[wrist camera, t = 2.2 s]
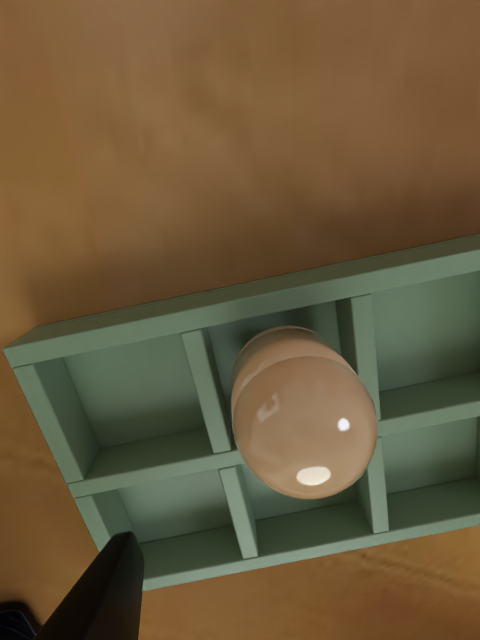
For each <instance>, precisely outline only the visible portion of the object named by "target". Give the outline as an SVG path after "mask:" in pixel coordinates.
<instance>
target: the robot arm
mask: <svg viewBox="0 0 480 640" xmlns="http://www.w3.org/2000/svg"><path fill="white" fill-rule="evenodd" d="M144 567H145V562H144V556H143V553H142V550H141V548H140V546H139V543H138V541H137V538H136V536H135V534H134V533H133V532H132V531H126V532H121V533H117V534H115V535H113V536H112V537H111V538H110V540H109V541H108V542H107V544H106V545H105V546H104V547H103V549H102V550H101V551H100V553H99V554H98V555H97V557H96V558H95V559H94V560H93V562H92V563H91V564H90V566H89V567H88V568H87V570H86V571H85V572H84V573H83V575H82V576H81V577H80V579H79V580H78V581H77V583H76V584H75V585H74V586H73V588H72V589H71V590H70V592H69V593H68V594H67V595H66V597H65V598H64V599H63V601H62V602H61V603H60V605H59V606H58V607H57V608H56V610H55V611H54V612H53V614H52V615H51V616H50V618H49V619H48V620H47V621H46V623H45V624H44V625H43V627H42V628H41V629H40V627H39V625H38V624H37V622H36V620H35V619H34V617H33V616H32V614H31V612H30V611H29V609H28V607H27V606H26V605H24V604H22V603H12V604H7V605H2V606H0V640H138V634H139V623H140V612H141V601H142V590H143V579H144Z"/></svg>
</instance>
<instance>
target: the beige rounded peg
mask: <svg viewBox="0 0 480 640" xmlns="http://www.w3.org/2000/svg"><path fill="white" fill-rule="evenodd" d="M230 390H231V411H232V428H233V434H234V439H235V443H236V446H237V449H238V451H239V454H240V456H241V457H242V459H243V461H244V463H245V464H246V466H247V467H248V469H249V470H250V472H251V473H252V474H254V475H255V476H256V477H257V478H258V479H259V480H260V481H261V482H262V483H263V484H264V485H265V486H267V487H269V488H270V489H272V490H273V491H275V492H278V493H280V494H283V495H286V496H288V497H291V498H296V499H301V500H315V499H323V498H327V497H330V496H333V495H336V494H338V493H340V492H342V491H344V490H345V489H347V488H349V487H350V486H352V485H353V484H354V483H355V482H356V481H357V480H358V479H359V478H360V477H361V476H362V474H363V473H364V472H365V470H366V469H367V467H368V465H369V463H370V461H371V459H372V457H373V455H374V452H375V449H376V445H377V438H378V420H377V415H376V410H375V406H374V402H373V400H372V398H371V396H370V393H369V391H368V390H367V388H366V386H365V384H364V383H363V382H362V380H361V379H360V378H359V376H358V375H357V374H356V373H355V371H354V370H353V369H352V368H351V366H350V365H349V364H348V363H347V362H346V360H345V359H344V358H343V357H342V355H341V354H340V353H339V352H338V350H337V349H336V348H335V347H334V346H333V345H332V343H330V342H329V341H328V340H327V339H325V338H324V337H323V336H322V335H320V334H319V333H317V332H315V331H313V330H311V329H309V328H305V327H301V326H297V325H279V326H274V327H270V328H267V329H265V330H263V331H261V332H259V333H257V334H256V335H254V336H253V337H252V338H251V339H249V340H248V341H247V343H246V344H245V345H244V346H243V347H242V348H241V350H240V351H239V353H238V355H237V357H236V358H235V361H234V364H233V367H232V372H231V379H230Z"/></svg>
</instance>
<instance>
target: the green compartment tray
mask: <svg viewBox="0 0 480 640" xmlns="http://www.w3.org/2000/svg"><path fill="white" fill-rule="evenodd" d="M279 325H297V326H301V327H305V328H309V329H311V330H313V331H315V332H317V333H319V334H320V335H322V336H323V337H324V338H325V339H327V340H328V341H329V342H330V343H332V345H333V346H334V347H335V348H336V349H337V350H338V352H339V353H340V354H341V355H342V357H343V358H344V359H345V360H346V362H347V363H348V364H349V365H350V366H351V368H352V369H353V370H354V371H355V373H356V374H357V375H358V376H359V378H360V379H361V380H362V382H363V383H364V384H365V386H366V388H367V390H368V391H369V393H370V396H371V398H372V400H373V402H374V406H375V410H376V415H377V420H378V438H377V445H376V449H375V452H374V455H373V457H372V459H371V461H370V463H369V465H368V467H367V469H366V470H365V472H364V473H363V474H362V476H361V477H360V478H359V479H358V480H357V481H356V482H355V483H354V484H353V485H352V486H350V487H349V488H347V489H345V490H344V491H342V492H340V493H338V494H336V495H333V496H330V497H327V498H323V499H315V500H301V499H296V498H291V497H288V496H286V495H283V494H280V493H278V492H275V491H273V490H272V489H270V488H269V487H267V486H265V485H264V484H263V483H262V482H261V481H260V480H259V479H258V478H257V477H256V476H255V475H254V474H252V473H251V472H250V470H249V469H248V467H247V466H246V464H245V463H244V461H243V459H242V457H241V456H240V454H239V451H238V449H237V446H236V443H235V439H234V434H233V428H232V411H231V390H230V379H231V372H232V367H233V364H234V361H235V358H236V357H237V355H238V353H239V351H240V350H241V348H242V347H243V346H244V345H245V344H246V343H247V341H248V340H249V339H251V338H252V337H253V336H254V335H256V334H257V333H259V332H261V331H263V330H265V329H267V328H270V327H274V326H279ZM3 352H4V354H5V356H6V358H7V360H8V362H9V364H10V366H11V367H13V369H12V370H13V372H14V374H15V376H16V378H17V381H18V383H19V385H20V387H21V389H22V391H23V393H24V395H25V398H26V400H27V402H28V404H29V406H30V408H31V410H32V412H33V414H34V417H35V419H36V421H37V423H38V425H39V427H40V429H41V431H42V433H43V436H44V438H45V440H46V442H47V444H48V446H49V448H50V450H51V452H52V455H53V457H54V459H55V461H56V463H57V465H58V467H59V469H60V471H61V474H62V476H63V478H64V480H65V482H66V483H67V487H68V489H69V491H70V493H71V495H72V497H73V498H74V501H75V503H76V505H77V507H78V510H79V512H80V514H81V516H82V518H83V520H84V522H85V524H86V526H87V529H88V531H89V533H90V535H91V537H92V539H93V541H94V543H95V545H96V548H97V550H98V552H99V553H100V551H101V550H102V549H103V547H104V546H105V545H106V544H107V542H108V541H109V540H110V538H111V537H112V536H113V535H115V534H117V533H121V532H126V531H132V532H133V533H134V534H135V536H136V538H137V541H138V543H139V546H140V548H141V550H142V553H143V556H144V562H145V567H144V579H143V590H142V591H147V590H152V589H157V588H162V587H167V586H172V585H177V584H182V583H187V582H192V581H198V580H203V579H208V578H213V577H218V576H223V575H228V574H233V573H238V572H243V571H248V570H254V569H259V568H264V567H269V566H274V565H279V564H284V563H289V562H294V561H299V560H305V559H310V558H315V557H320V556H325V555H330V554H335V553H340V552H345V551H350V550H355V549H361V548H366V547H371V546H376V545H381V544H386V543H391V542H396V541H401V540H406V539H412V538H417V537H422V536H427V535H432V534H437V533H442V532H447V531H452V530H457V529H462V528H468V527H473V526H478V525H480V234H476V235H471V236H466V237H461V238H457V239H452V240H447V241H442V242H438V243H433V244H428V245H423V246H418V247H414V248H409V249H404V250H399V251H395V252H390V253H385V254H380V255H375V256H371V257H366V258H361V259H356V260H352V261H347V262H342V263H337V264H333V265H328V266H323V267H318V268H313V269H309V270H304V271H299V272H294V273H290V274H285V275H280V276H275V277H270V278H266V279H261V280H256V281H251V282H247V283H242V284H237V285H232V286H227V287H223V288H218V289H213V290H208V291H204V292H199V293H194V294H189V295H184V296H180V297H175V298H170V299H165V300H161V301H156V302H151V303H146V304H141V305H137V306H132V307H127V308H122V309H118V310H113V311H108V312H103V313H98V314H94V315H89V316H84V317H79V318H75V319H70V320H65V321H60V322H55V323H51V324H46V325H41V326H37V327H35V328H34V329H32V330H31V331H29V332H28V333H26V334H25V335H23V336H21V337H20V338H18V339H17V340H15V341H14V342H12V343H10V344H9V345H7V346H6V347H4V348H3Z"/></svg>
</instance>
